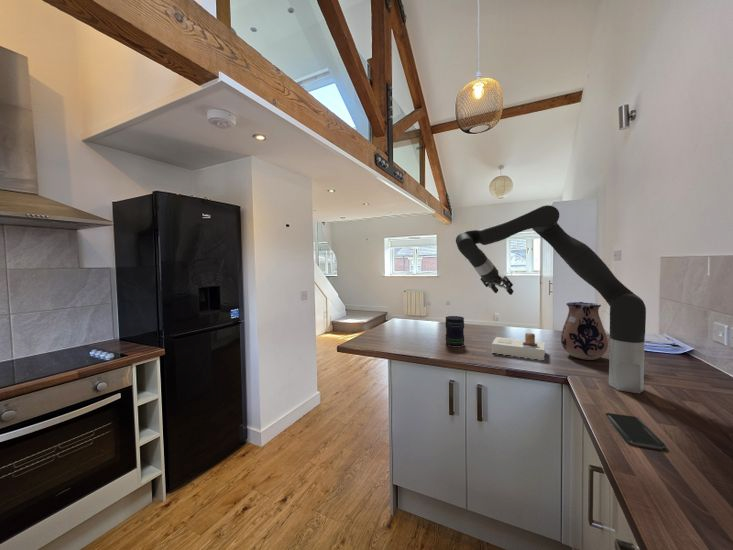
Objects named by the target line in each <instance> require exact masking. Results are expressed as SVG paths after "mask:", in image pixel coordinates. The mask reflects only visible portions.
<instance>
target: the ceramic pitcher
mask: <svg viewBox="0 0 733 550" xmlns="http://www.w3.org/2000/svg"><path fill="white" fill-rule="evenodd" d="M566 306H567V308H568V314H567V316H566V319H565V322H564V324H563V327H562V331H561V335H560V342H561V346H562V348H563V349H564V351H565V352H566V353H567V354H568V355H570V356H571V357H573V358H577V359H581V360H585V361H586V360H587V361H595V360H598V359H600V358H602V357H603V356H604V354H606V353H607V350H608V348H609V339H608V336H607V333H606V331H605V328H604V326H603V323H602V320H601V317H600V314H599V313H600V312H599V309H600V308H601V306H602V304H598V303H593V302H583V301H578V302H577V301H575V302H574V301H573V302H567V303H566Z"/></svg>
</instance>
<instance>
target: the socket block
mask: <svg viewBox="0 0 733 550" xmlns="http://www.w3.org/2000/svg"><path fill="white" fill-rule="evenodd" d="M545 349H546V342H545V341H537V340H535V346H527V345H525V339H516V338H508V337H499V336H496V337H495V338H494V340H493V341H492V343H491V354H492V353H498V354H505V355H512V356H511V357H513V356H518V357H517V358H520V357H524V358H523V359H527V358H530V359H529V360H534V359H538V360H537V361H541V360H544V361H545V357H544V356H545V354H546V352H545V351H546V350H545ZM498 354H497V355H498ZM505 355H504V356H505Z"/></svg>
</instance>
